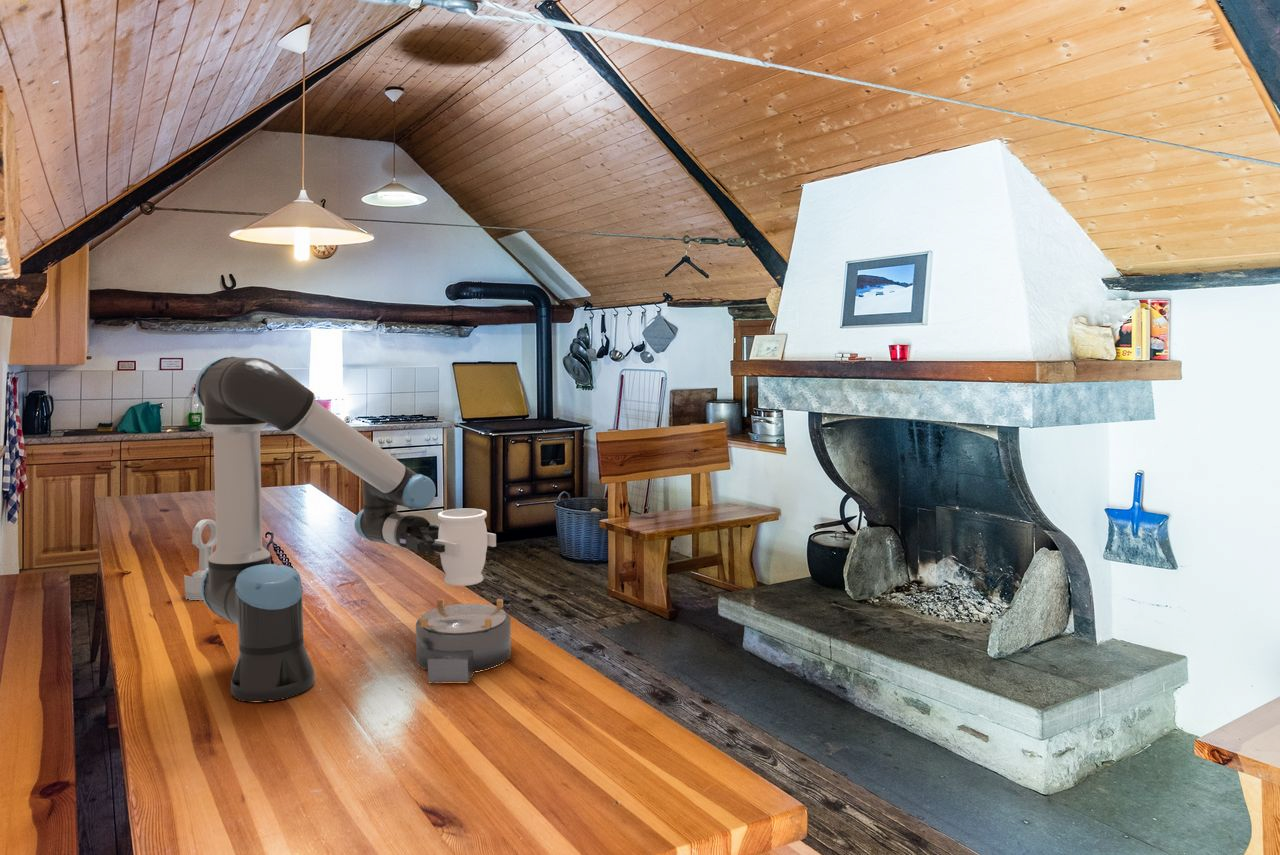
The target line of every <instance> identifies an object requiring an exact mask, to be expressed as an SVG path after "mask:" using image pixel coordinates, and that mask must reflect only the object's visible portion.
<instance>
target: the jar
mask: <svg viewBox="0 0 1280 855" xmlns="http://www.w3.org/2000/svg"><path fill="white" fill-rule="evenodd" d="M487 513H488V512H487V511H486V510H484V509H481V508H480V509H479V508H469V507H468V508H466V507H465V508H462V507H461V508H451V509H446V510H442V511H439V512H438V513H437V519H438V520H439V521H440V523H439V525H438V526H439V532H438V540H442V541H447V542H453V543H458V547H459V557H453V556H448V555H444V554H439V556H440V561H441V562H440V563H441V567H442V569H443V571H444V573H445V576H444V578H443V582H444V583H445V584H447V585H449V586H454V587H457V586H458V587H465V586H473V585H477V584H479V583H482V582H483V581H484V576H483V573H482V572H483V569H484V567H485V563H486V557H487V552H488V551H487V549H488V546H487V542H488V537H487V532H488V530H487V524H486V521H485V519H486V518H487V516H488V514H487Z"/></svg>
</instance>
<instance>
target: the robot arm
mask: <svg viewBox="0 0 1280 855" xmlns="http://www.w3.org/2000/svg"><path fill="white" fill-rule="evenodd" d="M194 388H195V395H196V397H197V400H198V401H199V403H200V404H201V406H202V407H203V411H204V412H203V413H204V426H205V427H206V428H208V429H209V430H210V431H211V432H212V434H213V466H214V467H213V468H214V469H213V471H214V474H213V476H214V506H215V522H216V545H215V547H216V548H215V550H214V551H213V553H212V554H211V555H210V556H209V558H208V571H207V573H205V575H204V577H203V579H202V583H201V595H202V598H203V600H204V601H203V602H204V604H205V605H206V607H207V608H208V609H209V610H210V611H211V612H212V613H213V614H214V615H217V616H218V617H219V618H221V619H224V620H227V621H229V622H230V623H233V624H234V625H235V626H237V631H238V632H237V633H238V635H237V637H238V656H237V659H236V663H235V667H234V670H233V673H232V677H231V680H230V694H232V695H233V696H234V697H235V698H237V699H240V700H244V701H269V700H277V701H279V700H278V699H282V698H286V699H288V698H287V697H290V696H293V695H296V694H298V695H300V694H299V693H301V694H302V692H303V693H304V691H305V692H306V691H308V690H309V689H311V688H312V687H313V686H314V684H315V681H316V679H315V669H314V666H313V664H312V661H311V659H310V657H309V654H308V652H307V649H306V647H305V644H304V643H305V642H304V617H303V616H304V614H303V611H304V610H303V593H304V590H303V585H302V579H301V578H302V577H301V576H300V575H301V574H300V573H299V572H298V571H297V570H296V569H294V568H292V566H288V565H285V564H280V565H278V564H277V563H272V560H271V559H272V557H271V552H270V551H269V550H268V549H266V547H264V546H263V519H262V518H263V517H262V507H263V506H262V467H261V466H262V465H261V464H262V463H261V460H262V459H261V456H262V455H261V432H262V430H263V429H264V428H265V427H266V426H268V424H269V425H271V426H274V427H275V428H277V430H279V431H281V432H283V433H286V432H292V433H293V434H295V435H296V436H297V437H300V438H301V439H302V440H303V441H306V443H308V444H310V445H311V446H313V447H314V448H316V449H317V450H319V451H320V452H322V453H323V454H325V455H326V456H328V457H329V458H330V459H332V460H334V461H335V462H336V463H338V464H340V465H341V466H343V467H344V468H346V469H347V470H348V471H350V472H351V473H353V474H354V475H355V476H357V477H359V478H360V479H361V481H362V482H361V483H362V485H361V486H362V500H363V507H362V509H360V511H359V512H358V513H357V515H356V518H355V520H354V529H355V532H356V533H357V535H358V536H360V537H361V538H362V539H364V540H365V539H366V540H369V541H370V542H375V543H380V544H381V543H382V544H385V545H390V546H395V547H397V548H398V549H402V548H403V549H408V550H411V551H413V552H415V553H417V554H420V555H423V554H425V553H426V552H427V556H428V557H434V553H435V554H439V555H440V554H444V555H448V556H453V557H459V547H458V543H453V542H447V541H442V540H438V532H439V526H440V525H437V524H431V523H430V521H429V520H428V519H427V518H425V517H423V516H418V515H413V514H410V513H409V514H408V513H404V512H398V506H401V507H404V508H407V509H410V510H423V509H426V508H428V507H429V506H430V505H431V504H432V502H433V501H434V499H435V498H436V491H437V490H436V485H435V483H434V481H433V479H431V478H430V477H429V476H426V475H424V474H421V473H416V472H415V471H413V470H412V469H411V468H410V467H407V466H406V465H405V464H404V463H402V462H401V461H399V460H398V459H397V458H395V457H393V456H392V455H391V454H389V453H388V452H387V451H385V450H384V449H383V448H381V447H380V446H379V445H378V444H376V443H375V442H373V441H372V440H370V439H369V438H368V437H366V436H365V435H363V434H362V433H360V432H359V431H357V430H356V429H355V428H353V427H352V426H351V425H349V424H348V423H347V422H345V421H344V420H342V419H341V418H340V417H338V416H337V415H336V414H334V413H333V412H331V411H330V410H329V409H328V408H326V407H324V406H323V405H322V404H320V403H319V402H318V401H316V396H315V393H314V392H313V391H311V389H309V388H308V387H307V386H305V385H303V384H302V383H300V382H299V381H298V380H297V379H295V377H293V376H291V375H290V374H289V373H287V372H286V371H285V370H283V369H282V368H280V367H279V366H278V365H276V364H275V363H273V362H271V361H268V360H267V359H263V358H259V357H239V356H237V357H236V356H234V355H233V356H224V357H221V358H219V359H214V360H212V361H210V362H209V363H207V364H206V365H205V366H204V367H203V368H202V369H201V370H200V372H199V373H198V375H197V377H196V381H195V387H194ZM487 537H488V542H487V547H492V548H494V547H497V534H496V533H492V532H488V531H487ZM232 695H231V696H232ZM233 696H232V697H233ZM296 696H297V695H296ZM234 697H233V698H234ZM293 697H294V696H293ZM235 698H234V699H235ZM290 698H291V697H290ZM237 699H236V700H237ZM240 700H239V701H240ZM282 700H283V699H282ZM244 701H243V702H244Z"/></svg>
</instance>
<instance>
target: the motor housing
mask: <svg viewBox="0 0 1280 855" xmlns="http://www.w3.org/2000/svg"><path fill="white" fill-rule="evenodd" d="M436 603H437V604H436V607H435V608H433V609H431V610H428V611H427V612H425V613H424V614H422V616H421V617H420V618H419V619H417V620H416V622H415V640H416V642H415V643H416V645H415V646H416V647H415V648H416V663H418V664H419V665H420V666H421V667H423V668H425V669H426V670H425V671H427V670H428V671H427V680H428V681H427V683H428V682H469V683H470V681H471V679H472V678H471V676H472V674H473V675H474V673H473V672H475V671H480V670H485V669H488V668H491V667H494V666H496V665H499V664H501V663H503V662H505V661H506V660H507V659H508V658H509V657H510V658H511V656H510V655H512V652H511V651H512V643H511V642H512V640H511V639H512V638H511V635H512V634H511V633H512V631H511V629H512V628H511V615H510V614H509V613H508V612H506V611H505V610H504V609H503V607H504V599H503V598H497V600H496V605H492V604H485V603H476V602H475V603H472V602H471V603H469V602H468V603H456V604H449V605H445V598H438V599H437V600H436ZM510 658H509V659H510ZM505 663H506V662H505ZM418 664H417V665H418ZM419 665H418V666H419ZM420 666H419V667H420ZM421 667H420V668H421ZM472 677H473V676H472ZM470 678H471V679H470ZM469 680H470V681H469Z"/></svg>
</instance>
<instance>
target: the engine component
mask: <svg viewBox="0 0 1280 855" xmlns="http://www.w3.org/2000/svg"><path fill="white" fill-rule="evenodd" d="M207 525H208V526H209V529H210V537H209V540H208V541H207V542H206V543H204V542H203V538H202V533H203V530H204V528H205V527H206V526H207ZM191 532H192V533H191V536H192V537H191V544H192V545H194V546H195V547H196V548H197V549H198V552H199V554H198V556H199V557H198V569H197V571H194V572H193V573H192V574H191V576H188V575H186V574H184V575H183V578H184V579H183V580H184V598H185V600H187V599H189V600H188V601H190V600H203V598H202V595H201V583H202V579H203V577H204V575H205V573H207V571H208V558H209V556H210V555H211V554H212V553H213V552H214V547H216V520H213V519H209V518H208V519H207V518H206V519H201V520H199V521H198V522H197V523H196V524H195V525H194V528H193V531H191Z"/></svg>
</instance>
